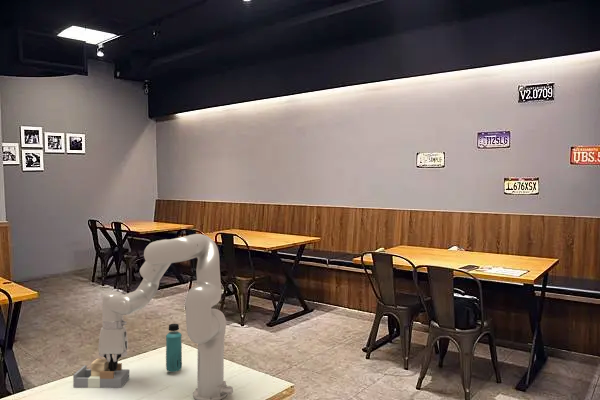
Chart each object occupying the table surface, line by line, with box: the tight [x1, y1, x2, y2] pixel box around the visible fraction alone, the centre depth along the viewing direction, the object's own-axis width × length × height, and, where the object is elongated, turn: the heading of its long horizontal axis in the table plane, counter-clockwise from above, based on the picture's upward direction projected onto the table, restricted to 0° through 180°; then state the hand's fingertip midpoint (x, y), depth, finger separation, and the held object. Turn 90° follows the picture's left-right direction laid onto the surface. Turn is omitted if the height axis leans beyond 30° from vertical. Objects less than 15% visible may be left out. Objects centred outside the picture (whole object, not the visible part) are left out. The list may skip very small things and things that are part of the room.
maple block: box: [90, 358, 109, 376], centre depth 181 cm, size 5×5×5 cm
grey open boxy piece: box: [72, 362, 130, 389], centre depth 181 cm, size 18×9×6 cm, turn 91°
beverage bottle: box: [165, 323, 183, 373], centre depth 192 cm, size 6×7×20 cm
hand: (113, 370), depth 181 cm, fingers closed
